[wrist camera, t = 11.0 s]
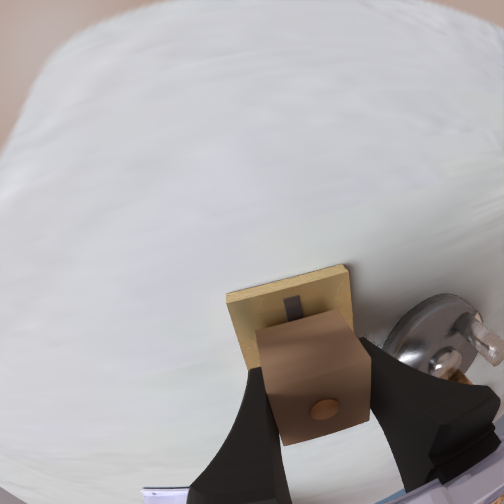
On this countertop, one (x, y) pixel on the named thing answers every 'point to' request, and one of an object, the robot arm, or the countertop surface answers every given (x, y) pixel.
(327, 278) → the pad
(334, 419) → the block
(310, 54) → the countertop surface
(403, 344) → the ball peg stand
